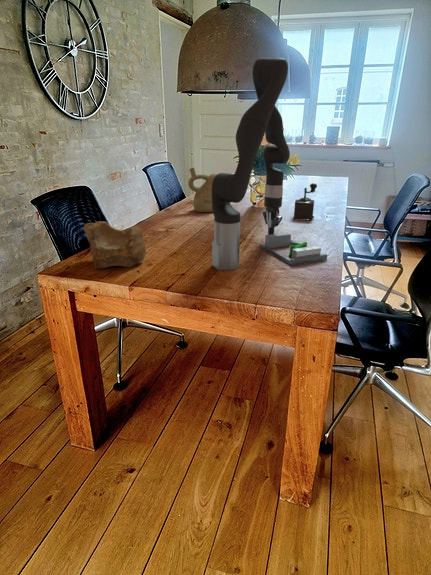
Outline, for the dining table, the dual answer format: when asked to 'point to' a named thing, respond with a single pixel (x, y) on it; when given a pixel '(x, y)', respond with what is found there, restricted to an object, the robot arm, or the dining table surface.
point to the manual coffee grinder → (305, 205)
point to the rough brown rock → (115, 245)
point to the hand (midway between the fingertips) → (270, 235)
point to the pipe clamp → (297, 246)
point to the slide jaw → (278, 240)
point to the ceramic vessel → (202, 192)
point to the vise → (299, 254)
